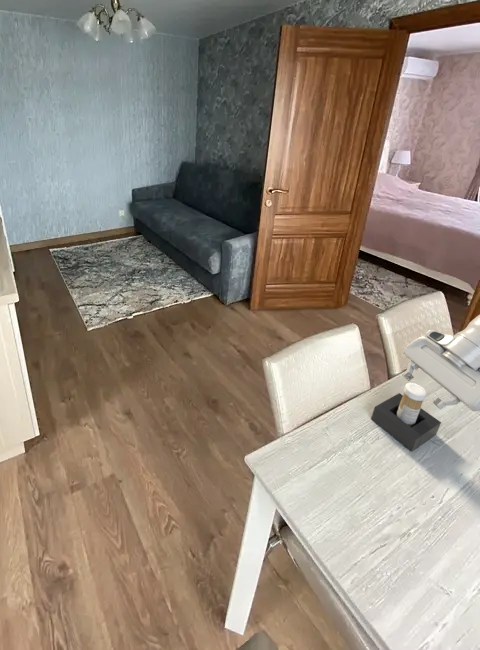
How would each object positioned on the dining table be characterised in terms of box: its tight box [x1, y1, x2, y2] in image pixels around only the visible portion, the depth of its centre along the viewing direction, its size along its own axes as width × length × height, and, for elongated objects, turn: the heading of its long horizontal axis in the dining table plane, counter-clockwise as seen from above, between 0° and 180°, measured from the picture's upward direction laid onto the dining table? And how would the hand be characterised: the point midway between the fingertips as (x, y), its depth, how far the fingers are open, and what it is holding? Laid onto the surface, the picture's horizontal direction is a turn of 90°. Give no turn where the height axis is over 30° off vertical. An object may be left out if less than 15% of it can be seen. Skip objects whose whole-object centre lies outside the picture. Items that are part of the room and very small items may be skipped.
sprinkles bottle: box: [396, 382, 427, 428], centre depth 90 cm, size 5×5×14 cm
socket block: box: [370, 392, 442, 453], centre depth 92 cm, size 11×11×4 cm
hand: (420, 391), depth 88 cm, fingers open, 8 cm apart
